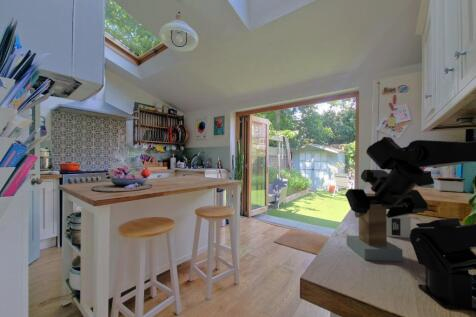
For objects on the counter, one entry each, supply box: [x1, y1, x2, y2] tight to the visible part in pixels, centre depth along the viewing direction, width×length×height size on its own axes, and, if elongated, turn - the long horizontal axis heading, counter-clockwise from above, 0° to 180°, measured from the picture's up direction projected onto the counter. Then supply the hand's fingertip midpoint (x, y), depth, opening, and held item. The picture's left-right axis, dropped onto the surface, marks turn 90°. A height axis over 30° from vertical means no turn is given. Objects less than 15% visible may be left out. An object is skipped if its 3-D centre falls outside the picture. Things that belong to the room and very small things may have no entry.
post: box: [358, 192, 388, 246], centre depth 61 cm, size 5×5×14 cm
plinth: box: [346, 235, 404, 262], centre depth 61 cm, size 10×10×3 cm
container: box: [387, 207, 412, 239], centre depth 77 cm, size 8×8×13 cm
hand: (371, 216), depth 61 cm, fingers open, 9 cm apart
